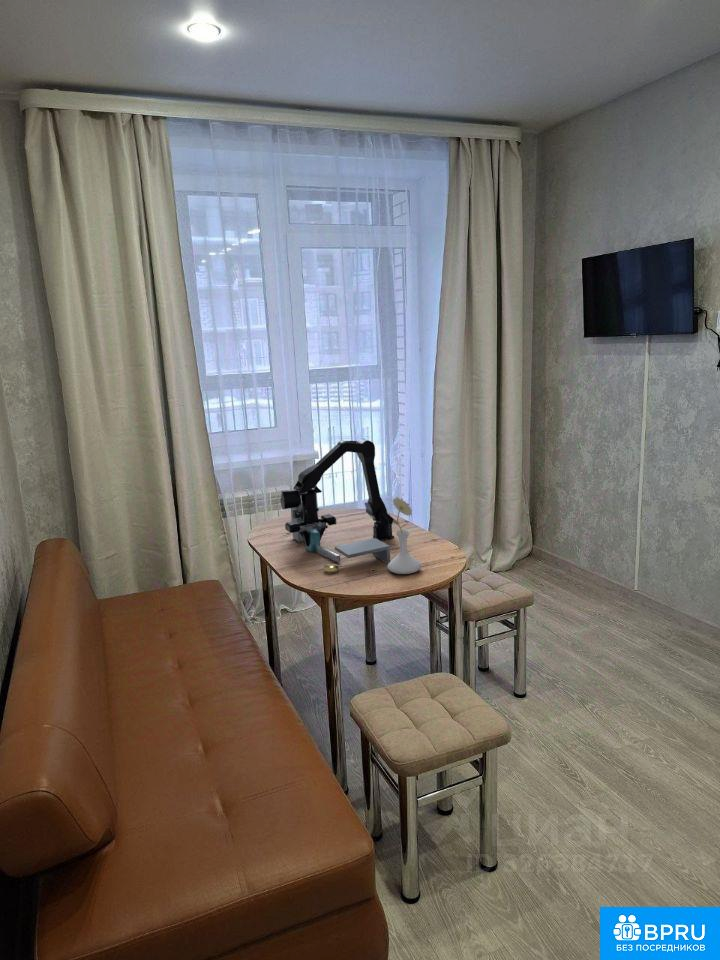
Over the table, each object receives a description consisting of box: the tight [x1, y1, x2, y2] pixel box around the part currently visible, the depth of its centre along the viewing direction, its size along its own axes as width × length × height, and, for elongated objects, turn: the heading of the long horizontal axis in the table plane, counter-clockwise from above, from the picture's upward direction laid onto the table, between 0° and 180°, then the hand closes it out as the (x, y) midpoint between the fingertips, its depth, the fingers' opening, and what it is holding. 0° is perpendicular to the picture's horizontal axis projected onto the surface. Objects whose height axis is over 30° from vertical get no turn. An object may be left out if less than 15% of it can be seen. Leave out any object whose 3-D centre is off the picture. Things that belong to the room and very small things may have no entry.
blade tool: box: [305, 530, 341, 563], centre depth 241 cm, size 4×20×7 cm, turn 33°
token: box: [323, 563, 340, 575], centre depth 225 cm, size 5×5×2 cm
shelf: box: [334, 537, 391, 564], centre depth 231 cm, size 16×11×6 cm
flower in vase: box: [387, 496, 422, 575], centre depth 219 cm, size 13×11×25 cm
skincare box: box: [290, 501, 316, 543], centre depth 262 cm, size 8×7×16 cm
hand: (312, 545), depth 248 cm, fingers closed on blade tool, 4 cm apart
